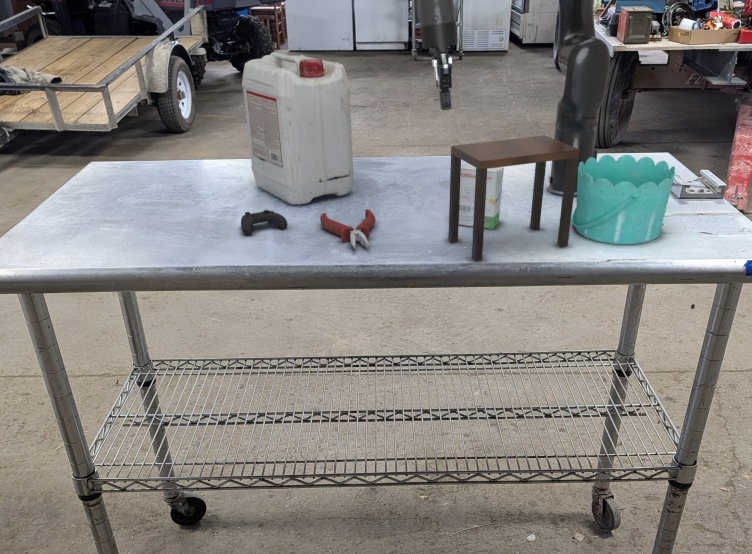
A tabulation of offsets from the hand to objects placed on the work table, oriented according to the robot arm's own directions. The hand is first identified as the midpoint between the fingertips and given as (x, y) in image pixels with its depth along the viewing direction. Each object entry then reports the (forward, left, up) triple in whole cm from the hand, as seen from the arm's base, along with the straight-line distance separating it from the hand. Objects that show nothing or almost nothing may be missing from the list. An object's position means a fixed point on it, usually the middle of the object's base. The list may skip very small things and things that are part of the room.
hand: (446, 109), depth 157 cm
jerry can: (+29, -19, -20) cm, 40 cm away
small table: (+1, +32, -19) cm, 38 cm away
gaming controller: (+44, +4, -20) cm, 48 cm away
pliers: (+29, +15, -20) cm, 38 cm away
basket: (-23, +34, -20) cm, 46 cm away
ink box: (+1, +19, -20) cm, 28 cm away
